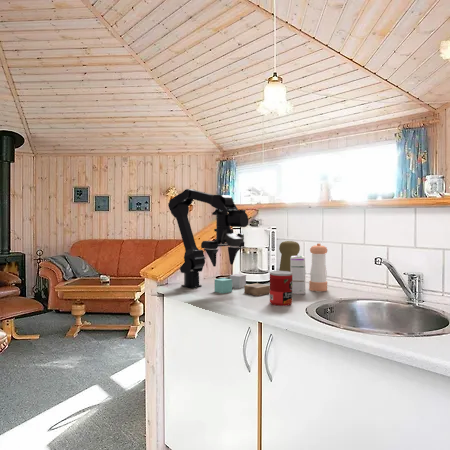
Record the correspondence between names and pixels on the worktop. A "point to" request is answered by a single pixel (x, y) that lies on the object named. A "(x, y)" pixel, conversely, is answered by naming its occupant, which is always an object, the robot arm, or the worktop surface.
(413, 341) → the worktop surface
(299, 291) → the syrup box
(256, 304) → the worktop surface
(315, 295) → the worktop surface
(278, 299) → the canned food
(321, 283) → the pepper shaker
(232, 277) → the grey cube
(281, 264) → the pepper shaker
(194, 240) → the robot arm
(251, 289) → the oak slab
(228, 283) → the teal cube
